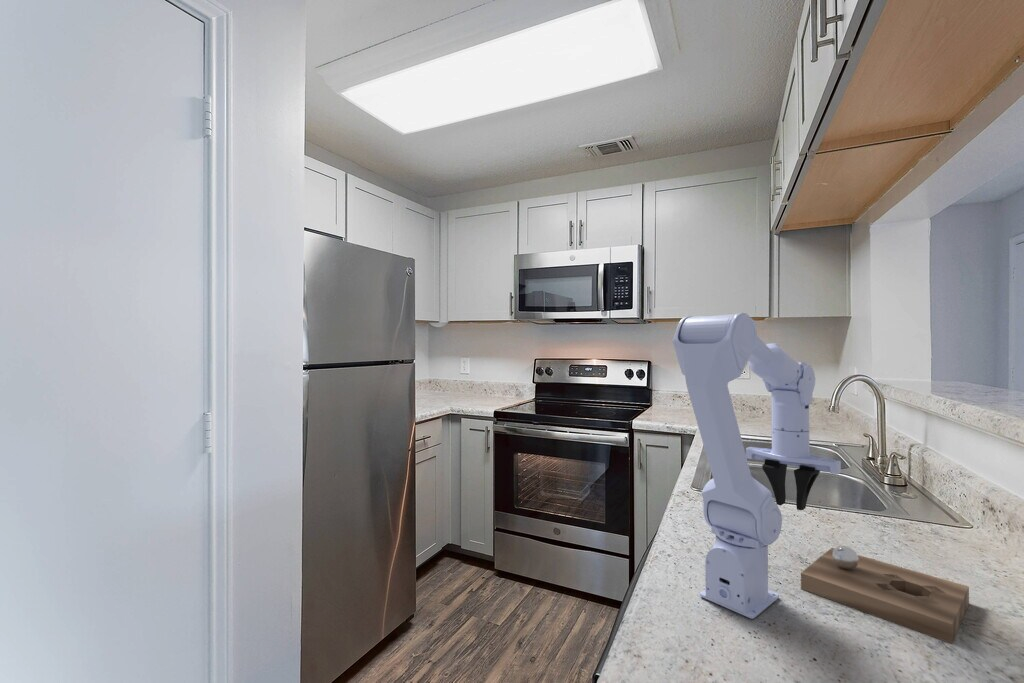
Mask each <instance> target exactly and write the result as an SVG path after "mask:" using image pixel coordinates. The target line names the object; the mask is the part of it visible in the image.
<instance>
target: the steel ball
mask: <svg viewBox="0 0 1024 683" xmlns="http://www.w3.org/2000/svg"><path fill="white" fill-rule="evenodd" d="M834 548H835V549H834V550H833V553H832V556H833V559H834V561H835V563H836V564H837V565H838V566H840V567H842V568H844V569H854V568H855V567H857V565H858V563H859V557H858V555H859V554H857V552H856V551H855V550H854V549H853V548H852V547H849V546H847V545H839V546H835V547H834Z"/></svg>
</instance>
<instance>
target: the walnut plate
mask: <svg viewBox="0 0 1024 683" xmlns="http://www.w3.org/2000/svg"><path fill="white" fill-rule="evenodd" d="M835 548H836V547H831V548H829V549H828V550H827V551H826V552H824V553H823V554H822V555H821V556H820V557H819V558H817V559H816V560H815V561H814V562H812V563H811V564H810V565H809V566H807V567H806V568H804V570H803V571H801V572H800V590H803V591H805V592H808V593H812V594H813V595H814V594H815V595H817V596H819V597H822V598H826V599H828V600H830V601H834V602H836V603H839V604H841V605H845V606H847V607H850V608H852V609H855V610H858V611H861V612H864V613H866V614H870V615H872V616H874V617H877V618H880V619H882V620H886V621H888V622H891V623H894V624H897V625H900V626H902V627H905V628H908V629H910V630H913V631H916V632H918V633H922V634H925V635H927V636H929V637H933V638H935V639H937V640H941V641H944V642H947V643H949V644H952V645H953V643H954V642H955V639H956V637H957V634H958V633H959V632H958V631H959V629H960V627H961V624H962V622H963V619H964V617H965V614H966V612H967V609H968V607H969V604H970V586H967V585H964V584H961V583H958V582H955V581H954V582H953V581H950V580H947V579H944V578H940V577H936V576H933V575H929V574H926V573H923V572H919V571H915V570H913V569H909V568H906V567H901V566H899V565H895V564H891V563H888V562H884V561H880V560H878V559H874V558H869V557H866V556H863V555H860V554H857V555H858V557H859V563H858V565H857V567H855V568H854V569H844V568H842V567H840V566H838V565H837V564H836V563H835V561H834V559H833V556H832V553H833V550H834V549H835Z"/></svg>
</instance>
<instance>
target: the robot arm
mask: <svg viewBox="0 0 1024 683" xmlns="http://www.w3.org/2000/svg"><path fill="white" fill-rule="evenodd" d="M757 333H758V332H757V325H756V321H755V320H754V319H752V317H751V316H750V315H749V314H748V313H745V312H738V313H735V314H732V313H731V314H720V315H717V314H716V315H703V316H702V315H701V316H693V315H692V316H691V315H690V316H689V315H688V316H684V317H683V318H681V319H680V321H679V322H678V323H677V327H676V331H675V333H674V336H673V339H672V342H673V346H674V347H673V348H674V350H675V354H676V357H677V361H678V365H679V368H680V371H681V374H682V375H683V376H684V378H685V384H686V389H687V393H688V396H689V400H690V403H691V406H692V409H693V412H694V416H695V420H696V424H697V427H698V430H699V434H700V437H701V440H702V444H703V448H704V451H705V454H706V458H707V461H708V466H709V468H710V472H711V476H712V478H711V479H709V480H708V482H706V483H705V485H704V486H703V489H702V491H701V496H702V502H703V503H702V504H703V505H702V513H703V518H704V520H705V522H706V524H707V525H708V526H709V527H711V529H710V530H711V534H714V535H715V541H714V544H713V546H712V548H710V549H709V550H708V552H707V554H706V555H705V562H704V563H705V567H704V568H705V589H704V590H702V591H700V592H699V596H700V597H701V598H703V599H705V600H708V601H710V602H712V603H715V604H716V605H718V606H719V605H720V607H724V608H726V609H728V610H730V611H733V612H735V613H737V614H739V615H741V616H744V617H746V618H748V619H752V620H753V619H755V618H756V617H757V616H759V615H760V614H761V613H762V612H763V611H765V610H766V609H767V608H768V607H769V606H771V605H772V604H773V603H774V602H775V601H776V600H778V599H779V598H780V594H779V593H778V592H775V591H773V590H770V589H769V546H770V545H772V544H774V543H775V542H776V541H777V540H778V538H779V536H780V534H781V531H782V526H783V517H782V516H783V515H782V512H781V509H780V508H779V506H782V505H784V504H786V497H787V495H786V476H787V468H788V466H792V467H798V468H796V469H794V470H793V476H794V480H795V490H796V499H795V500H796V510H798V511H803V510H805V509H806V508H807V503H808V502H807V501H808V498H809V494H810V491H811V489H812V487H813V486H814V484H815V481H816V479H817V478H818V477H819V475H820V473H821V471H822V472H826V473H830V474H832V475H839V474H841V473H842V462H841V460H837V459H831V458H827V457H822V456H818V455H813V454H810V452H811V451H810V450H811V449H810V405H811V404H812V403H813V394H814V390H815V387H816V386H815V385H816V375H815V369H814V368H813V366H812V365H810V364H807V362H806V361H805V362H803V361H797V360H796V359H794V358H793V357H792V356H790V354H788V353H787V352H786V351H785V350H783V349H782V348H781V346H780V345H779V344H778V343H777V342H776V343H765V342H764V341H763V340H762V339H761V338H760V337H759V335H757ZM747 363H748V366H749V368H750V370H751V372H753V374H755V375H757V376H758V377H759V378H761V379H762V382H763V383H764V386H765V389H766V390H767V392H768V393H769V392H770V393H771V399H770V400H771V448H764V447H756V446H755V447H754V446H749V447H748V446H747V447H746V448H745V447H744V443H743V440H742V436H741V432H740V428H739V424H738V421H737V415H736V413H735V409H734V405H733V401H732V398H731V394H730V390H729V387H728V386H729V383H730V382H731V381H734V380H736V379H738V378H740V377H742V376H741V375H742V374H743V372H744V369H745V367H746V365H747ZM749 459H750V460H753V459H754V460H758V461H764V463H763V464H762V466H761V469H762V470H763V472H764V473H765V475H766V477H767V479H768V481H769V484H770V485H771V489H772V491H773V494H772V491H771V490H770V489H768V488H767V487H766V486H765V485H763V483H761V482H759V481H758V480H757V479H756V478H754V477H753V476H752V473H751V470H750V465H749V462H748V460H749ZM773 495H774V498H773ZM774 499H775V501H774Z"/></svg>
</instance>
